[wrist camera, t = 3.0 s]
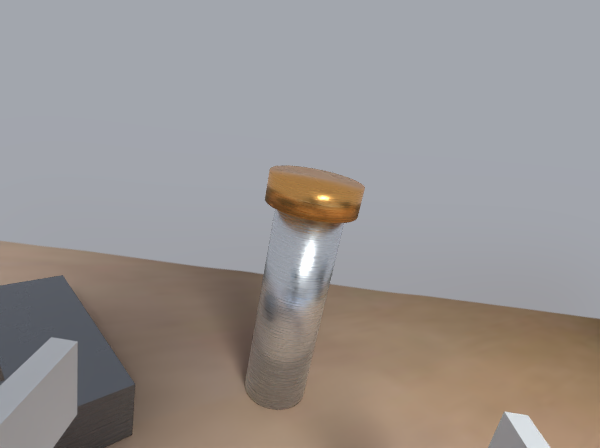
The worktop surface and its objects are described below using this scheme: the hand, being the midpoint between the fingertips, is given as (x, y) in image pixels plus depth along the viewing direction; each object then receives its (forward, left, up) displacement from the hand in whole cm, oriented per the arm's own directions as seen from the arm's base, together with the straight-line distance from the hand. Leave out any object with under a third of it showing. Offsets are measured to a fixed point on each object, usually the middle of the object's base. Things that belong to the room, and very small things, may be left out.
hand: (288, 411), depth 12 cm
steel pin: (+7, -7, -7) cm, 12 cm away
